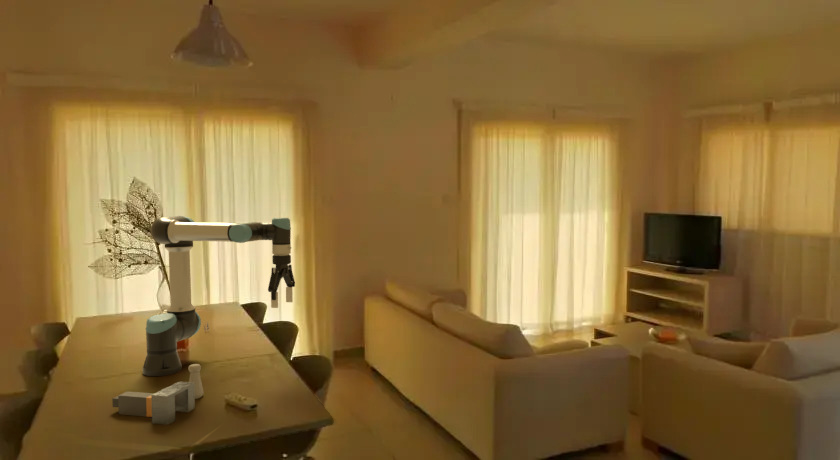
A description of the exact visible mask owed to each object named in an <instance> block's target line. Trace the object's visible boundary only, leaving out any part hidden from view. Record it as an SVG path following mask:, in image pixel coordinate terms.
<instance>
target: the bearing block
mask: <svg viewBox="0 0 840 460" xmlns="http://www.w3.org/2000/svg"><path fill="white" fill-rule="evenodd" d="M151 399H152V417H151V424H157V425H166V426H167V425H168V426H169V425H170V424H172V423H173V422H175V421H176V412H179V411H180V413H181V412H182V413H189V412H191V411H193V410H194V409H195V408H196V407H195V406H196V402H195V401H196V399H195V393H194V383H193V382H189V381H177V382H175V383H172V384H171V385H170V386H167V387H164V388H162V389H161V390H158V391H157V392H155V393H154V394H152V395H151Z"/></svg>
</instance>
